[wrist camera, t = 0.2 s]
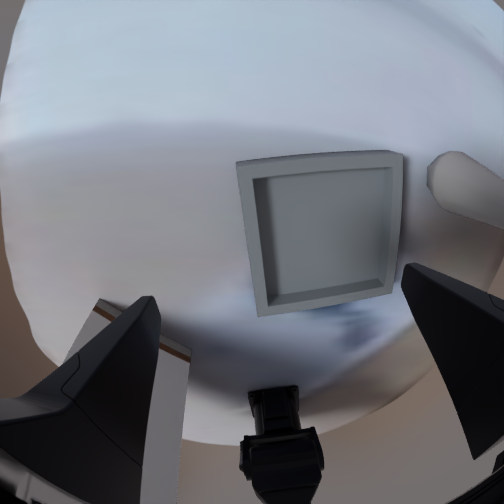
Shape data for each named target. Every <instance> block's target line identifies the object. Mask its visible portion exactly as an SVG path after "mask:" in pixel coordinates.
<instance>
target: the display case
mask: <svg viewBox="0 0 504 504" xmlns="http://www.w3.org/2000/svg"><path fill="white" fill-rule="evenodd" d="M121 313H122V312H121V311H119V310H117V309H116V308H114V307H112V306H111V305H109V304H108V303H106V302H104V301H103V300H101V299H100V298H99V300H98V302H97V303H96V305H95V307H94V308H93V310H92V312H91V313H90V315H89V317H88V318H87V320H86V322H85V324H84V325H83V327H82V329H81V331H80V332H79V334H78V336H77V338H76V340H75V341H74V343H73V345H72V347H71V349H70V351H69V352H68V354H67V356H66V358H65V360H64V362H63V363H65V362H66V361H67V360H68V359H69V358H70V357H72V356H73V355H74V354H75V353H76V352H78V351H79V349H81V348H82V347H83V346H84V345H85V344H86V343H88V342H89V341H90V340H91V339H92V338H93V337H94V336H96V335H97V334H98V333H99V332H100V331H101V330H103V329H104V328H105V327H106V326H107V325H108V324H110V323H111V322H112V321H113V320H114V319H115V318H117V317H118V316H119V315H120V314H121ZM191 352H192V350H191V349H189V348H187V347H185V346H183V345H181V344H179V343H177V342H175V341H173V340H171V339H169V338H167V337H165V336H163V335H161V334H160V340H159V354H158V362H157V368H156V373H155V379H154V385H153V391H152V398H151V404H150V411H149V418H148V425H147V433H146V441H145V450H144V459H143V467H142V468H143V470H142V482H141V495H140V504H177V489H178V475H179V462H180V450H181V439H182V429H183V419H184V410H185V401H186V392H187V383H188V375H189V367H190V360H191Z"/></svg>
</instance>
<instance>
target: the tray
mask: <svg viewBox="0 0 504 504" xmlns="http://www.w3.org/2000/svg"><path fill="white" fill-rule="evenodd" d="M236 170H237V177H238V184H239V191H240V198H241V205H242V212H243V219H244V226H245V233H246V240H247V247H248V254H249V261H250V268H251V274H252V281H253V288H254V295H255V302H256V309H257V315H258V317H262V316H269V315H276V314H283V313H289V312H295V311H302V310H308V309H314V308H319V307H325V306H331V305H336V304H341V303H347V302H352V301H357V300H362V299H367V298H372V297H376V296H381V295H386V294H390V293H392V290H393V284H394V277H395V270H396V262H397V254H398V245H399V235H400V224H401V209H402V187H403V154H400V153H396V152H393V151H389V150H370V151H344V152H327V153H313V154H301V155H290V156H280V157H271V158H262V159H254V160H246V161H239V162H236Z"/></svg>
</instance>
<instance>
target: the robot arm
mask: <svg viewBox="0 0 504 504" xmlns="http://www.w3.org/2000/svg"><path fill="white" fill-rule="evenodd" d="M401 288H402V291H403V293H404V296H405V298H406V300H407V303H408V305H409V307H410V310H411V312H412V315H413V317H414V319H415V322H416V324H417V326H418V328H419V329H420V331H421V333H422V335H423V337H424V339H425V341H426V343H427V345H428V347H429V349H430V351H431V354H432V356H433V358H434V360H435V362H436V364H437V366H438V368H439V371H440V373H441V375H442V377H443V379H444V382H445V384H446V386H447V389H448V391H449V394H450V396H451V398H452V401H453V403H454V406H455V409H456V411H457V414H458V417H459V419H460V422H461V425H462V427H463V430H464V433H465V436H466V439H467V442H468V445H469V448H470V451H471V455H472V457H473V459H474V460H475V459H477V458H479V457H480V456H482V455H483V454H485V453H486V452H488V451H489V450H491V449H492V448H493V447H495V446H496V445H498V444H499V443H500V442H502V441H503V440H504V300H502V299H500V298H498V297H496V296H493V295H491V294H488V293H487V292H484V291H482V290H480V289H478V288H475V287H473V286H471V285H468V284H466V283H464V282H461V281H459V280H457V279H454V278H452V277H450V276H447V275H445V274H442V273H440V272H437V271H435V270H433V269H430V268H428V267H425V266H423V265H420V264H418V263H409V264H406V265H405V267H404V271H403V276H402V280H401ZM160 327H161V315H160V312H159V309H158V306H157V304H156V301H155V298H154V297H153V296H142V297H141V298H139V299H138V300H137V301H136V302H135V303H133V304H132V305H131V306H130V307H129V308H127V309H126V310H125V311H124V312H123V313H121V314H120V315H119V316H118V317H117V318H115V319H114V320H113V321H112V322H111V323H110V324H108V325H107V326H106V327H105V328H104V329H103V330H101V331H100V332H99V333H98V334H97V335H96V336H94V337H93V338H92V339H91V340H90V341H89V342H88V343H86V344H85V345H84V346H83V347H82V348H81V349H79V351H78V352H76V353H75V354H74V355H73V356H72V357H70V358H69V359H68V360H67V361H66V362H65V363H63V364H62V365H61V366H60V367H59V368H57V369H56V370H55V371H53V372H52V373H51V374H50V375H48V376H47V377H46V378H44V379H43V380H42V381H40V382H39V383H38V384H37V385H35V386H34V387H33V388H31V389H30V390H29V391H28V392H26V393H25V394H23V395H21V396H19V397H16V398H10V399H0V504H140V495H141V482H142V470H143V468H142V467H143V459H144V450H145V441H146V433H147V425H148V418H149V411H150V404H151V398H152V391H153V385H154V379H155V373H156V368H157V362H158V354H159V340H160ZM248 399H249V403H250V407H251V411H252V414H253V417H254V418H255V429H256V435H253V436H248V435H245V436H244V440H243V441H241V442H240V447H241V449H240V451H241V453H240V464H239V468H240V470H241V471H242V472H244V475H245V476H246V479H247V481H250V480H252V486H253V489H254V491H255V493H256V496H257V497H258V498H259V499H260V500H261V502H262V503H263V504H311V501H312V499H313V497H314V495H315V493H316V490H317V488H318V486H319V483H320V480H321V478H322V476H321V471H322V470H324V457H323V452H322V448H321V445H320V442H319V439H318V436H317V433H316V430H315V427H314V426H313V427H310V428H306V429H301V424H300V419H299V414H298V411H299V389H298V386H289V387H282V388H276V389H268V390H261V391H253V392H249V393H248ZM446 504H504V451H502V452H501V453H500V454H499V455H498V456H497V458H496V462H495V465H494V468H493V472H492V474H491V475H490V476H488V477H487V478H486V479H484V480H483V481H481V482H480V483H478V484H477V485H475V486H474V487H472V488H471V489H469V490H467V491H466V492H464V493H463V494H461V495H459V496H458V497H456V498H454V499H452V500H451V501H449V502H447V503H446Z"/></svg>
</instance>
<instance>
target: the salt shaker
mask: <svg viewBox="0 0 504 504" xmlns="http://www.w3.org/2000/svg"><path fill="white" fill-rule="evenodd" d="M427 187H428V188H429V190H430V191H431V193H432V194H433V196H434V198H435V200H436V201H437V203H438V205H439V206H440V207H442V208H443V209H445V210H447V211H448V212H451V213H454V214H457V215H461V216H464V217H467V218H470V219H474V220H477V221H480V222H483V223H486V224H489V225H492V226H495V227H498V228H500V229H503V230H504V180H503V179H502V178H501V177H499V176H498V175H496V174H495V173H494V172H492V171H491V170H489V169H488V168H486V167H485V166H483V165H482V164H480V163H479V162H477V161H476V160H474V159H473V158H471V157H469V156H468V155H466V154H465V153H463V152H457V151H449V152H446V153H444V154H441V155H439V156H438V157H437V158H436V159H435V160H434V161H433V162H432V163H431V164H430V165H429V166H428V167H427Z"/></svg>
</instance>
